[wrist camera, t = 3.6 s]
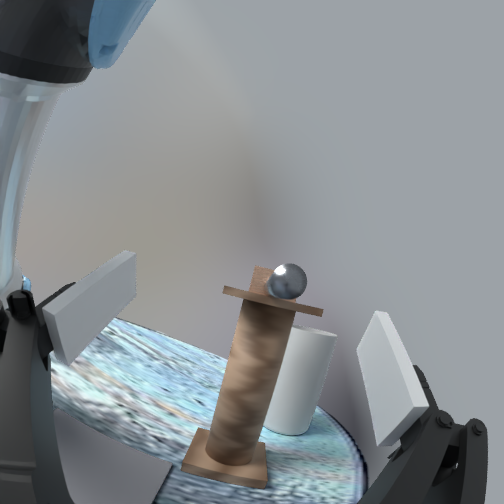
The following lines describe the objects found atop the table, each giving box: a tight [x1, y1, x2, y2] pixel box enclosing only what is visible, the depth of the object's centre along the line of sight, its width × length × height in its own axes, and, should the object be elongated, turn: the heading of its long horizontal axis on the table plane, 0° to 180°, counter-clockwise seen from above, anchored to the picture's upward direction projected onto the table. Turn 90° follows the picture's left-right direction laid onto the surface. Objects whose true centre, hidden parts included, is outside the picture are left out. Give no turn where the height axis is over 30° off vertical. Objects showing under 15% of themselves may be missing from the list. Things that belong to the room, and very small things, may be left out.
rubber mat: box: [53, 408, 173, 504], centre depth 17 cm, size 22×28×1 cm
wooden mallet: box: [249, 264, 307, 303], centre depth 35 cm, size 24×7×4 cm, turn 179°
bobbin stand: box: [181, 286, 323, 489], centre depth 38 cm, size 13×13×30 cm
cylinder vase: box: [263, 324, 337, 435], centre depth 58 cm, size 12×12×25 cm
